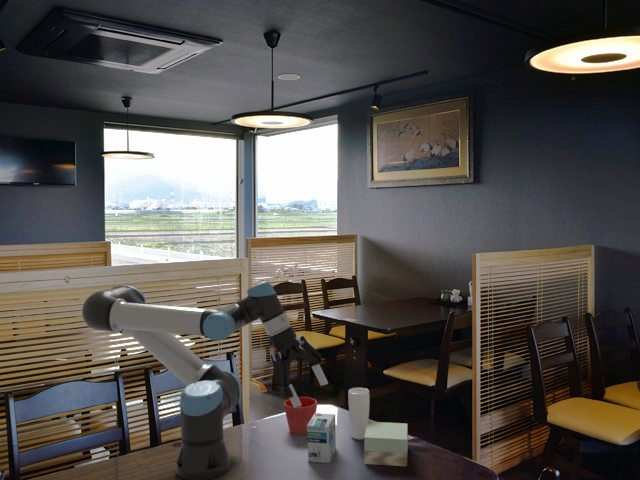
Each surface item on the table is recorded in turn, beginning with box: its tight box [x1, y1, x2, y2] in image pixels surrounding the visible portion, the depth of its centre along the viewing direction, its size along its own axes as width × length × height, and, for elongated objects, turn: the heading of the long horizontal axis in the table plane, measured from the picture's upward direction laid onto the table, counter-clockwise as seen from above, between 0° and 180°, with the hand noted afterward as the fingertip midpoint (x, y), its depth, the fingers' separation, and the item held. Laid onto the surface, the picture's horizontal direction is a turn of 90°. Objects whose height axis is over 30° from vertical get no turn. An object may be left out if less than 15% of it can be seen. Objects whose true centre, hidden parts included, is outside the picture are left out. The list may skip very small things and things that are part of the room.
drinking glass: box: [347, 387, 371, 440], centre depth 175 cm, size 7×7×15 cm
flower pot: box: [283, 396, 318, 436], centre depth 181 cm, size 11×11×10 cm
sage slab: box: [363, 421, 408, 454], centre depth 162 cm, size 12×12×4 cm
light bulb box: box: [306, 412, 337, 464], centre depth 163 cm, size 11×7×11 cm, turn 168°
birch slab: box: [363, 438, 409, 467], centre depth 162 cm, size 12×12×4 cm
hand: (311, 395), depth 163 cm, fingers open, 13 cm apart
